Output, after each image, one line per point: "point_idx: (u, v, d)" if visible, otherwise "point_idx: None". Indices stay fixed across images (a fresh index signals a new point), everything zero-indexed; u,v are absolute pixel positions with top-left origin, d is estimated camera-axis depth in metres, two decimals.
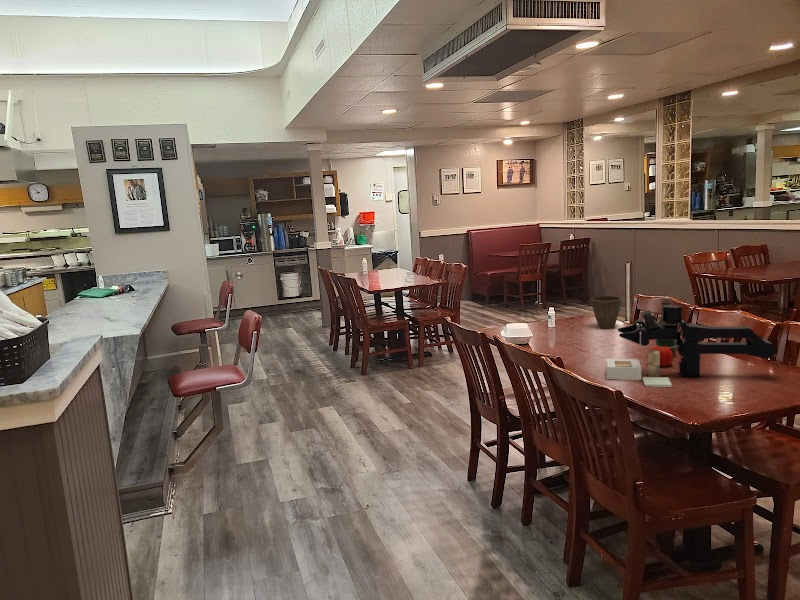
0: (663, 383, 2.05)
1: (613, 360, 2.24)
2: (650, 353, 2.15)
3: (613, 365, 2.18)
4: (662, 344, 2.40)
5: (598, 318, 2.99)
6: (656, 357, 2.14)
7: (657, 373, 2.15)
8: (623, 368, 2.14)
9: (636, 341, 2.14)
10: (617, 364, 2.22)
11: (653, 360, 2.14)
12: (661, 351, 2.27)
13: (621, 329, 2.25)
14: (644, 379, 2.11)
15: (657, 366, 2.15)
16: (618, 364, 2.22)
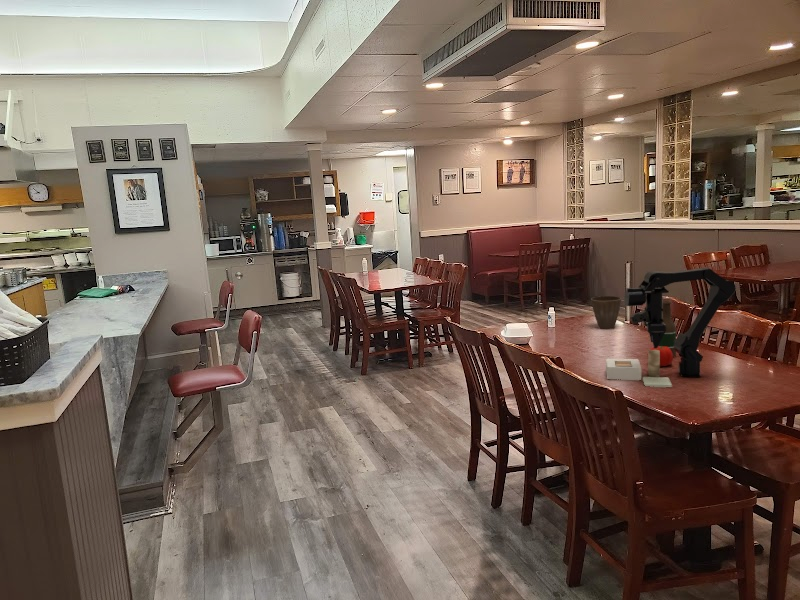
0: (663, 383, 2.05)
1: (613, 360, 2.24)
2: (650, 353, 2.15)
3: (613, 365, 2.18)
4: (662, 344, 2.40)
5: (598, 318, 2.99)
6: (656, 357, 2.14)
7: (657, 373, 2.15)
8: (623, 368, 2.14)
9: (662, 333, 2.08)
10: (617, 364, 2.22)
11: (653, 360, 2.14)
12: (661, 351, 2.27)
13: (652, 339, 2.19)
14: (644, 379, 2.11)
15: (657, 366, 2.15)
16: (618, 364, 2.22)
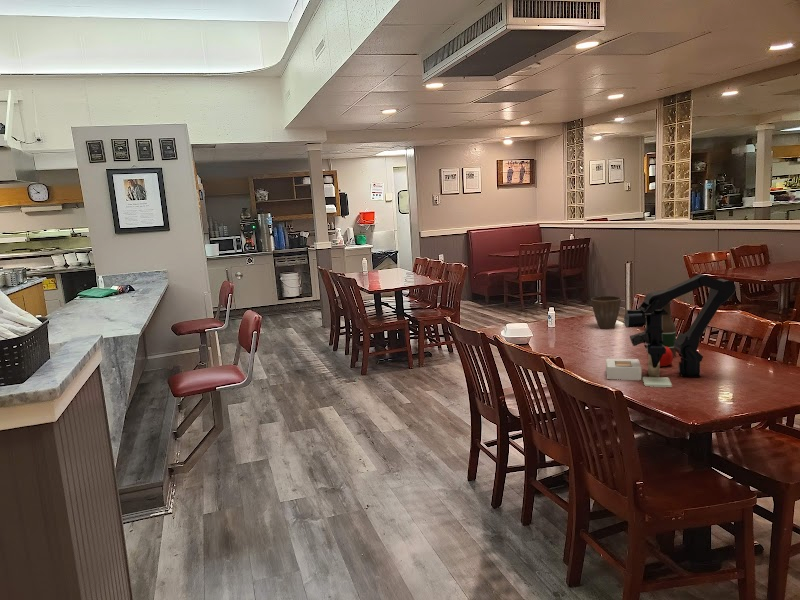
0: (663, 383, 2.05)
1: (613, 360, 2.24)
2: None
3: (613, 365, 2.18)
4: None
5: (598, 318, 2.99)
6: None
7: (657, 373, 2.15)
8: (623, 368, 2.14)
9: (661, 354, 2.11)
10: (617, 364, 2.22)
11: None
12: None
13: None
14: (644, 379, 2.11)
15: (657, 366, 2.15)
16: (618, 364, 2.22)
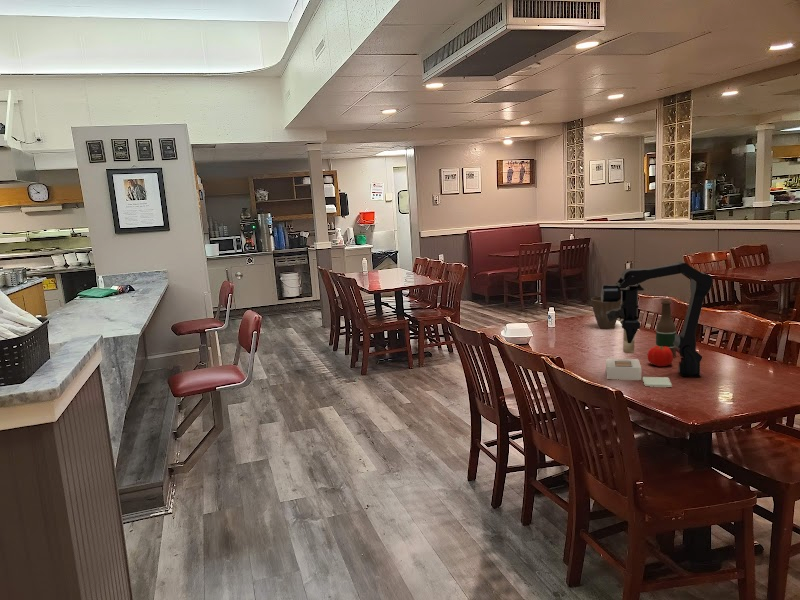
0: (663, 383, 2.05)
1: (613, 360, 2.24)
2: None
3: (613, 365, 2.18)
4: (662, 344, 2.40)
5: (598, 318, 2.99)
6: None
7: (632, 349, 2.16)
8: (623, 368, 2.14)
9: (635, 329, 2.12)
10: (617, 364, 2.22)
11: None
12: (661, 351, 2.27)
13: None
14: (644, 379, 2.11)
15: (632, 342, 2.16)
16: (618, 364, 2.22)
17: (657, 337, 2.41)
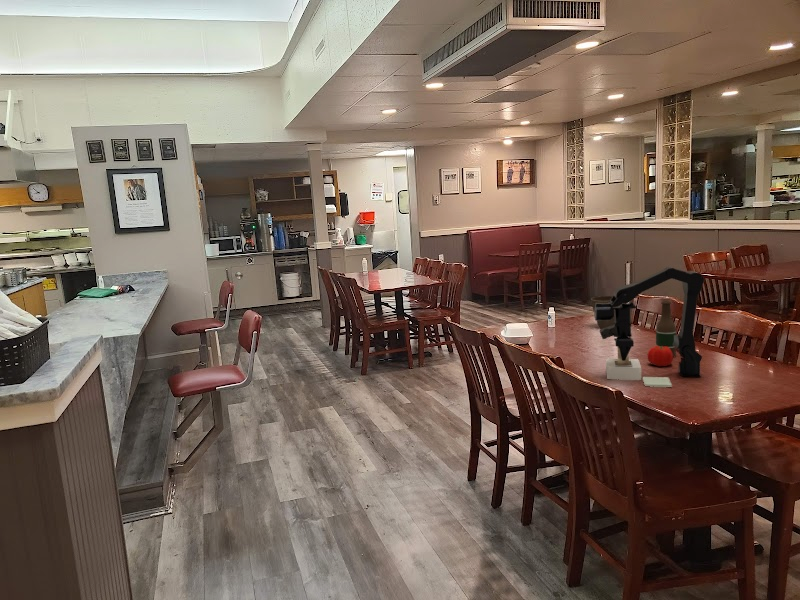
0: (663, 383, 2.05)
1: (613, 360, 2.24)
2: None
3: (613, 365, 2.18)
4: (662, 344, 2.40)
5: None
6: None
7: None
8: (623, 368, 2.14)
9: (629, 347, 2.14)
10: None
11: None
12: (661, 351, 2.27)
13: None
14: (644, 379, 2.11)
15: (626, 359, 2.18)
16: None
17: (657, 337, 2.41)
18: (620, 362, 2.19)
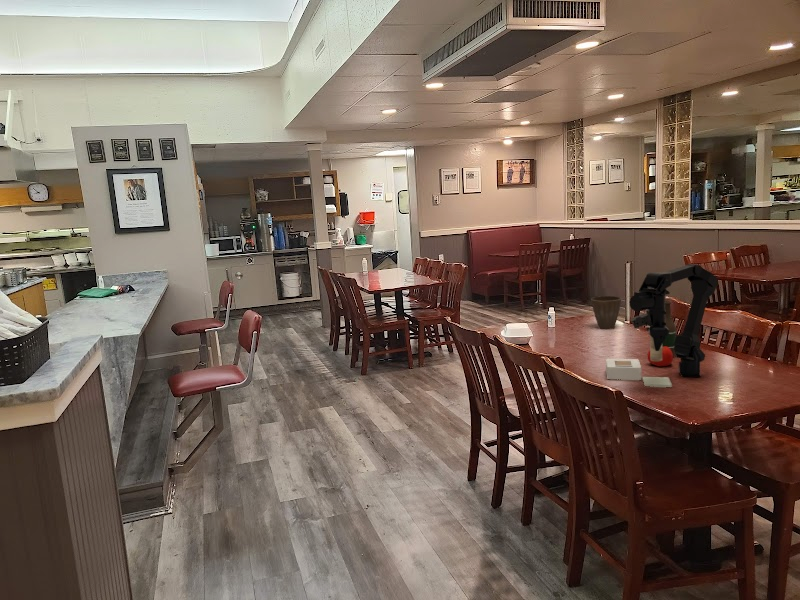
0: (663, 383, 2.05)
1: (613, 360, 2.24)
2: None
3: (613, 365, 2.18)
4: (662, 344, 2.40)
5: (598, 318, 2.99)
6: None
7: (660, 356, 2.06)
8: (623, 368, 2.14)
9: (664, 336, 2.02)
10: None
11: None
12: None
13: None
14: (644, 379, 2.11)
15: (660, 349, 2.05)
16: None
17: None
18: (653, 352, 2.06)
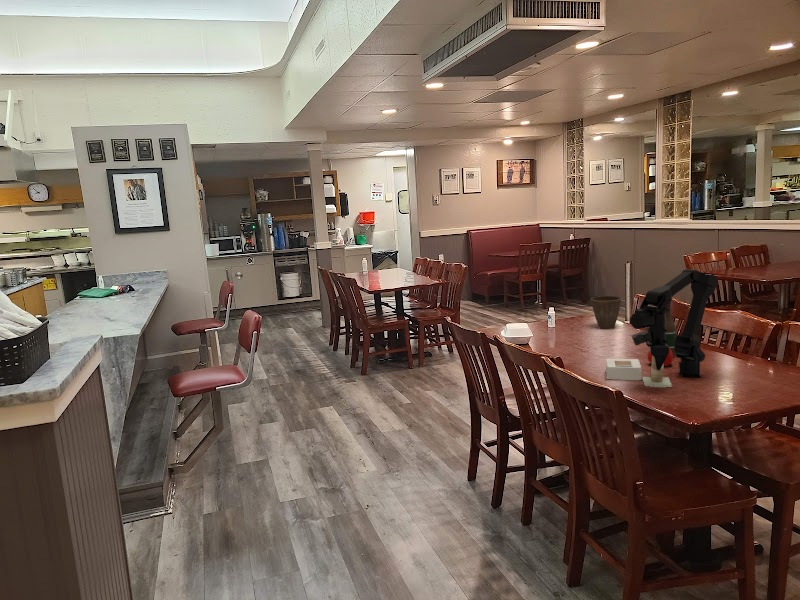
0: (663, 383, 2.05)
1: (613, 360, 2.24)
2: None
3: (613, 365, 2.18)
4: None
5: (598, 318, 2.99)
6: None
7: (660, 377, 2.07)
8: (623, 368, 2.14)
9: (665, 355, 2.00)
10: None
11: None
12: None
13: None
14: (644, 379, 2.11)
15: (661, 370, 2.06)
16: None
17: None
18: (654, 373, 2.07)
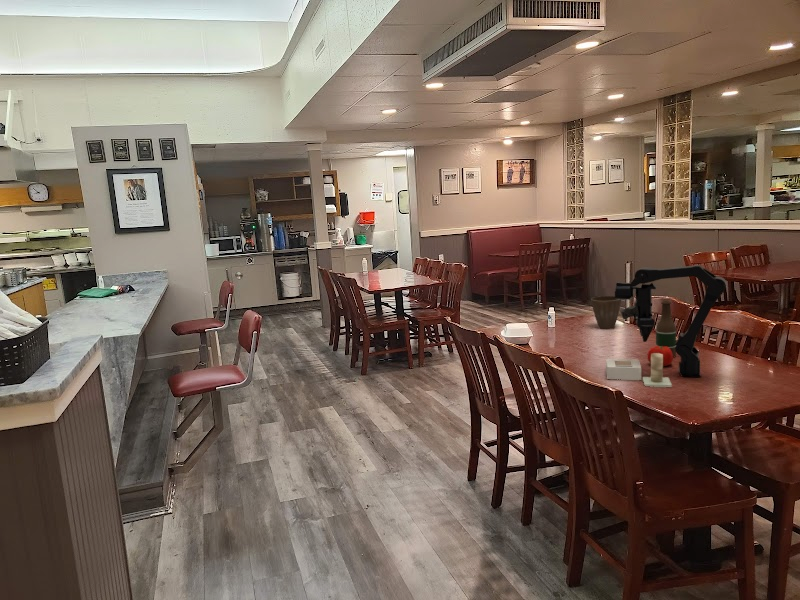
0: (663, 383, 2.05)
1: (613, 360, 2.24)
2: (653, 357, 2.06)
3: (613, 365, 2.18)
4: (662, 344, 2.40)
5: (598, 318, 2.99)
6: (659, 361, 2.06)
7: (660, 377, 2.07)
8: (623, 368, 2.14)
9: (651, 328, 2.15)
10: None
11: (656, 364, 2.06)
12: (661, 351, 2.27)
13: (642, 333, 2.27)
14: (644, 379, 2.11)
15: (660, 370, 2.06)
16: None
17: (657, 337, 2.41)
18: (654, 373, 2.07)
